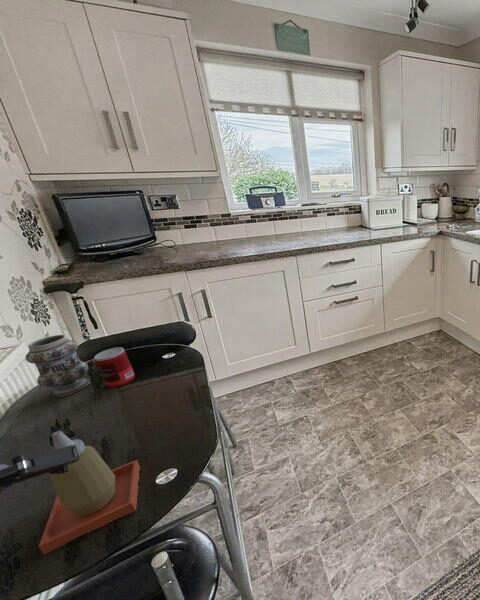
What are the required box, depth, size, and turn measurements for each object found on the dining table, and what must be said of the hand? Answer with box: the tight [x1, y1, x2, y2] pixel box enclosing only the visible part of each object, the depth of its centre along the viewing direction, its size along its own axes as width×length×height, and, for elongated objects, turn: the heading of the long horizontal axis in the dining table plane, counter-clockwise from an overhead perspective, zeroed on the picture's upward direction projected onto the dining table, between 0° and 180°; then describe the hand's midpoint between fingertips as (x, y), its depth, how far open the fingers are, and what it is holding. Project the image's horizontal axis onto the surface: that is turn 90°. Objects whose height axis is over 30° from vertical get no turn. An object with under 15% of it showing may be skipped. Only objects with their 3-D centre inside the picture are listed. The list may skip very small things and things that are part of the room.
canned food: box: [93, 346, 136, 389], centre depth 108 cm, size 8×8×11 cm
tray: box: [38, 459, 141, 555], centre depth 66 cm, size 13×13×2 cm
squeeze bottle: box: [48, 430, 115, 516], centre depth 63 cm, size 8×8×18 cm
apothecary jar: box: [25, 334, 91, 398], centre depth 106 cm, size 12×12×18 cm
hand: (4, 489), depth 52 cm, fingers open, 13 cm apart
